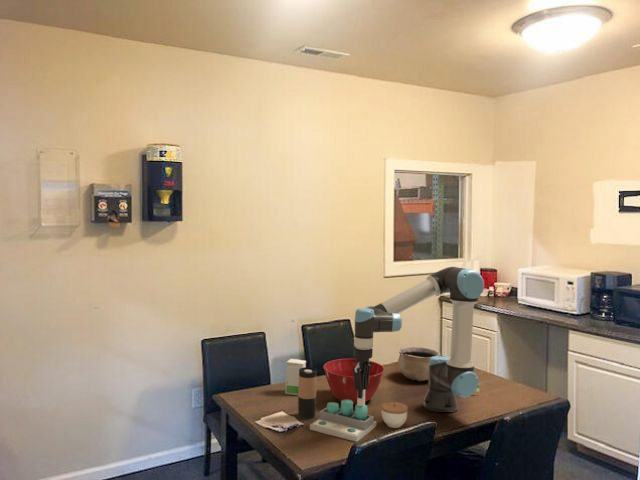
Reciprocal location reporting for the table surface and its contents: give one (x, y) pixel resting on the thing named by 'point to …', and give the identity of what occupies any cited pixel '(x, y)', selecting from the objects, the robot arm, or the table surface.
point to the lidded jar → (394, 414)
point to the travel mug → (307, 392)
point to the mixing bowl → (350, 379)
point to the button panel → (343, 425)
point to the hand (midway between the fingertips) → (361, 405)
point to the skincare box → (293, 375)
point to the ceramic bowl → (416, 362)
